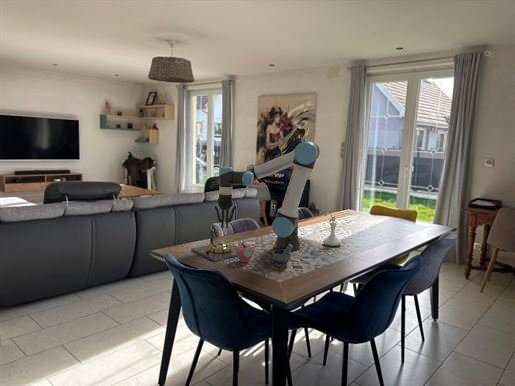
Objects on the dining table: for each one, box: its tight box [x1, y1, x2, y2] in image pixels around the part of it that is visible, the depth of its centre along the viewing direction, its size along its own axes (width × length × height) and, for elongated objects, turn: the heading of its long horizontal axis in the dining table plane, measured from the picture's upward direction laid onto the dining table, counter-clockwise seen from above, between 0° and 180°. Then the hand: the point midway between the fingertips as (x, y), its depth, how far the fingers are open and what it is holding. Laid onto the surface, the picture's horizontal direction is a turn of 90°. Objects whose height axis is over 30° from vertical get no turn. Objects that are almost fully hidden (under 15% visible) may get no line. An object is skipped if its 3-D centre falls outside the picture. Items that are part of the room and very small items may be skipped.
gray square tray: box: [190, 241, 239, 262], centre depth 217 cm, size 24×24×5 cm
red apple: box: [236, 242, 255, 263], centre depth 202 cm, size 10×9×10 cm
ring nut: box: [208, 228, 233, 253], centre depth 218 cm, size 16×13×10 cm
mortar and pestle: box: [271, 244, 293, 268], centre depth 197 cm, size 11×9×12 cm
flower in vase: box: [322, 205, 342, 247], centre depth 236 cm, size 13×11×25 cm
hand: (224, 233), depth 225 cm, fingers closed
